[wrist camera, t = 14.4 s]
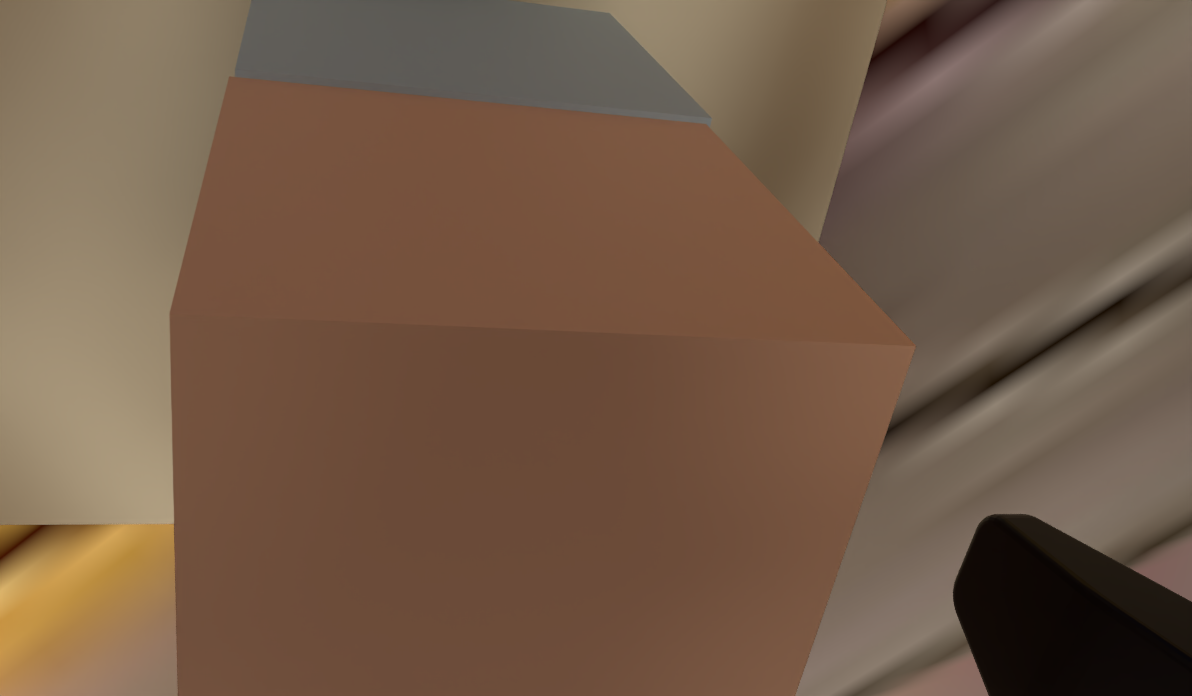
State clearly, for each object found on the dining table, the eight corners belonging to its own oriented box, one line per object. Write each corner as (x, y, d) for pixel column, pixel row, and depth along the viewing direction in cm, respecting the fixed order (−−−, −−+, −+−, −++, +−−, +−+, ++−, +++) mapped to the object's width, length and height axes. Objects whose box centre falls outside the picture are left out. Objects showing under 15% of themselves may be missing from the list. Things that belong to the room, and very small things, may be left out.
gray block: (610, 12, 16) (712, 117, 12) (559, 309, 18) (630, 485, 14) (259, -32, 15) (234, 69, 11) (253, 294, 17) (230, 483, 13)
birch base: (914, -269, 17) (963, -268, 15) (715, 477, 23) (739, 521, 22) (-135, -496, 13) (-184, -519, 12) (-17, 471, 19) (-41, 525, 18)
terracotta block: (706, 123, 12) (916, 346, 8) (626, 489, 14) (753, 814, 10) (229, 75, 11) (170, 314, 6) (226, 489, 13) (182, 862, 9)
